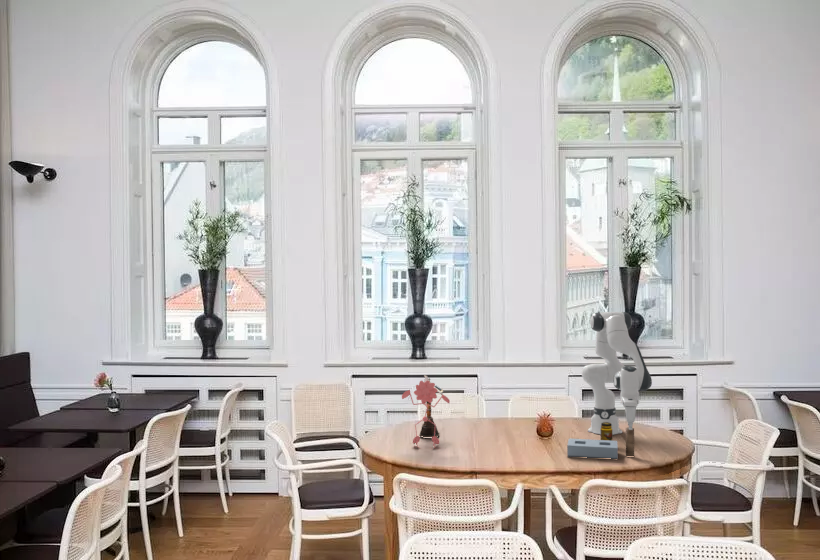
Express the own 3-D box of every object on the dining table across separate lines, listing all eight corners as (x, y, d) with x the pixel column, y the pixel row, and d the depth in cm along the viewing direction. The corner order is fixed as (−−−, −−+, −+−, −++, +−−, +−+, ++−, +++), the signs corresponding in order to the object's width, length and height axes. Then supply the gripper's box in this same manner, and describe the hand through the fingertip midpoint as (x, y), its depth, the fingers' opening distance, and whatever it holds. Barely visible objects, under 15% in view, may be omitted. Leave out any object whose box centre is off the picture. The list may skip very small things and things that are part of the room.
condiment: (610, 448, 369) (610, 425, 368) (594, 446, 374) (594, 423, 373) (615, 444, 375) (614, 422, 375) (599, 442, 380) (599, 420, 379)
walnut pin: (625, 455, 355) (625, 427, 355) (634, 455, 354) (633, 427, 354) (626, 457, 351) (625, 429, 351) (634, 457, 350) (634, 429, 350)
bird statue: (448, 433, 406) (447, 372, 405) (448, 438, 393) (447, 375, 392) (419, 433, 407) (418, 372, 406) (418, 438, 394) (417, 376, 393)
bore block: (568, 449, 366) (568, 438, 366) (617, 452, 360) (617, 440, 360) (567, 457, 353) (567, 445, 353) (617, 460, 347) (617, 448, 346)
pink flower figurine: (449, 449, 371) (448, 382, 370) (401, 448, 374) (399, 382, 373) (451, 441, 386) (451, 377, 385) (404, 441, 390) (403, 377, 389)
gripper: (622, 395, 363) (622, 422, 363) (623, 403, 343) (624, 431, 343) (635, 396, 361) (635, 423, 361) (637, 403, 341) (637, 432, 341)
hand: (630, 427), depth 352 cm, fingers open, 8 cm apart
